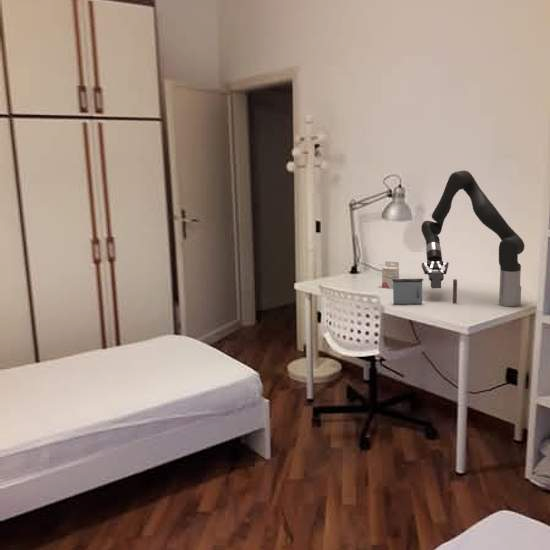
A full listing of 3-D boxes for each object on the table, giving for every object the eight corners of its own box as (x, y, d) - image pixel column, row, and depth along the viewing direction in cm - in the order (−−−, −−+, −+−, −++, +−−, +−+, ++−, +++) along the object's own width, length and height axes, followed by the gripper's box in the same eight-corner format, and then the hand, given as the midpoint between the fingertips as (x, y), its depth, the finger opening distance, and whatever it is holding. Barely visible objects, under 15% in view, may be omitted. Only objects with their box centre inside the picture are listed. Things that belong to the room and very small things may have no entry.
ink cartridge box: (381, 287, 329) (381, 262, 326) (385, 286, 333) (385, 261, 330) (395, 289, 325) (395, 263, 322) (399, 287, 329) (399, 261, 326)
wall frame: (455, 302, 290) (456, 277, 287) (457, 304, 287) (457, 278, 284) (392, 302, 295) (392, 278, 292) (392, 304, 291) (392, 279, 289)
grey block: (421, 302, 290) (422, 281, 288) (422, 304, 288) (422, 282, 286) (393, 303, 292) (393, 281, 290) (393, 304, 290) (393, 282, 288)
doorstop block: (439, 286, 297) (440, 271, 295) (441, 288, 292) (441, 272, 291) (430, 286, 298) (430, 271, 296) (431, 288, 293) (432, 273, 291)
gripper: (420, 249, 299) (422, 276, 290) (448, 248, 297) (452, 276, 288) (419, 257, 306) (421, 284, 296) (447, 256, 304) (450, 284, 294)
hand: (436, 280), depth 292 cm, fingers closed on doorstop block, 4 cm apart
